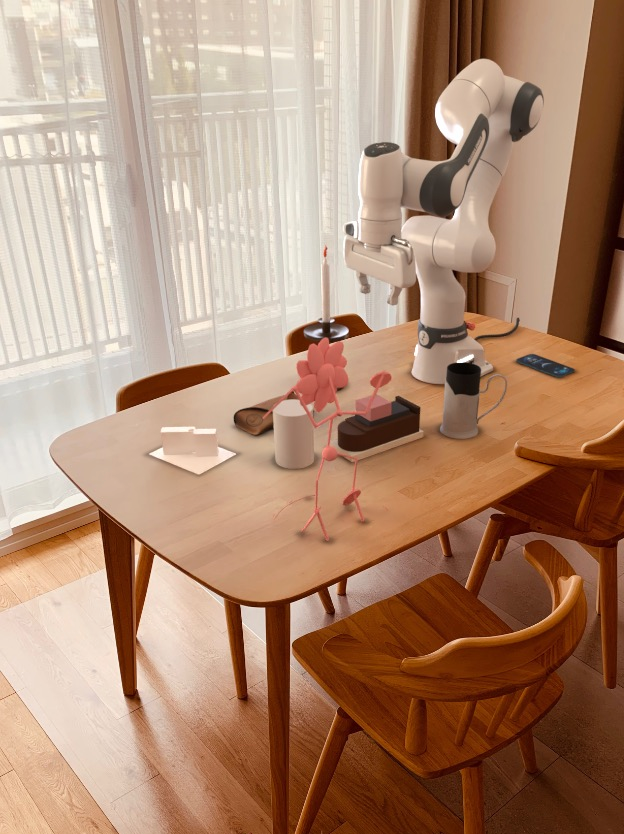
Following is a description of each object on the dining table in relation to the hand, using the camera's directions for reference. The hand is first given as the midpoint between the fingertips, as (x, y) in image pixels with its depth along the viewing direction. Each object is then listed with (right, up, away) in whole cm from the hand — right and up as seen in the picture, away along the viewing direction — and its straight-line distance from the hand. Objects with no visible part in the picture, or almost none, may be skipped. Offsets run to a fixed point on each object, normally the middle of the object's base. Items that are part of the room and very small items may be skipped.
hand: (378, 298), depth 170 cm
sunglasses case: (-24, -24, +16) cm, 37 cm away
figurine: (-11, -46, -19) cm, 51 cm away
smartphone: (+45, -6, +47) cm, 65 cm away
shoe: (0, -30, +7) cm, 31 cm away
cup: (-18, -34, 0) cm, 39 cm away
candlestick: (-13, -13, +33) cm, 38 cm away
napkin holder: (-40, -33, +1) cm, 52 cm away
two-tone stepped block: (+1, -24, +5) cm, 25 cm away
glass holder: (+21, -27, +13) cm, 37 cm away
